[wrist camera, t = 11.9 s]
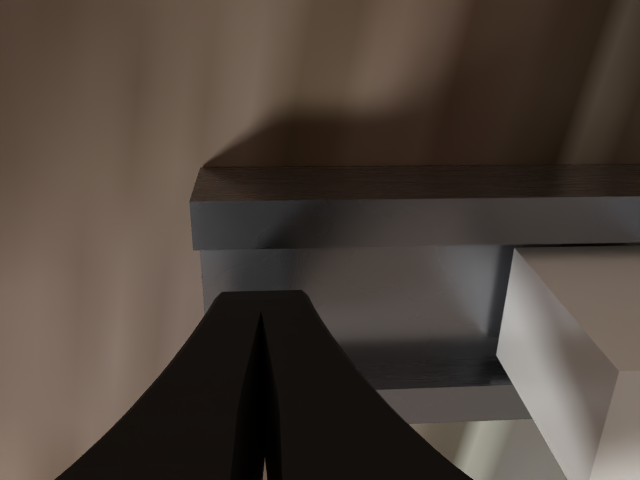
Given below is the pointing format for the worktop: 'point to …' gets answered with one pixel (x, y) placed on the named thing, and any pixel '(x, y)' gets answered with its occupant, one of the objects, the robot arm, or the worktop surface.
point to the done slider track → (407, 261)
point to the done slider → (578, 354)
